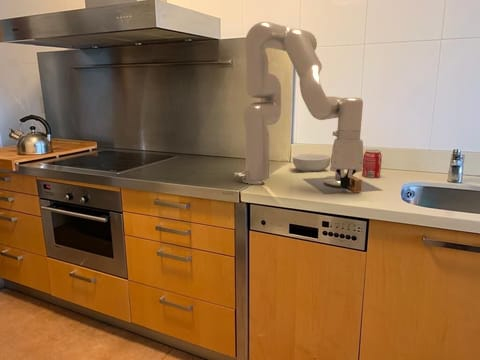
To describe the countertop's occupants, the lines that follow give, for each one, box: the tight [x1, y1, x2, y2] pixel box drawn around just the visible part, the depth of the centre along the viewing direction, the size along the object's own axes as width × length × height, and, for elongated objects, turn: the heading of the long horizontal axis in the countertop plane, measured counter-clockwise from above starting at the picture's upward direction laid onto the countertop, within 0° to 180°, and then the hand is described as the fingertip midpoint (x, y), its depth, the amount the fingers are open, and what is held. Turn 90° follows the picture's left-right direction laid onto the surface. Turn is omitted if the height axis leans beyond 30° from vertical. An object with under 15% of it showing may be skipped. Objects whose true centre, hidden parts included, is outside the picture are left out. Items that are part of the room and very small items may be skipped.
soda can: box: [361, 149, 383, 179], centre depth 145 cm, size 7×7×12 cm
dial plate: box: [302, 177, 384, 195], centre depth 135 cm, size 22×22×2 cm
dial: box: [323, 172, 363, 193], centre depth 131 cm, size 18×12×4 cm, turn 13°
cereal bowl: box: [292, 152, 331, 174], centre depth 162 cm, size 17×17×7 cm
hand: (344, 187), depth 125 cm, fingers closed
